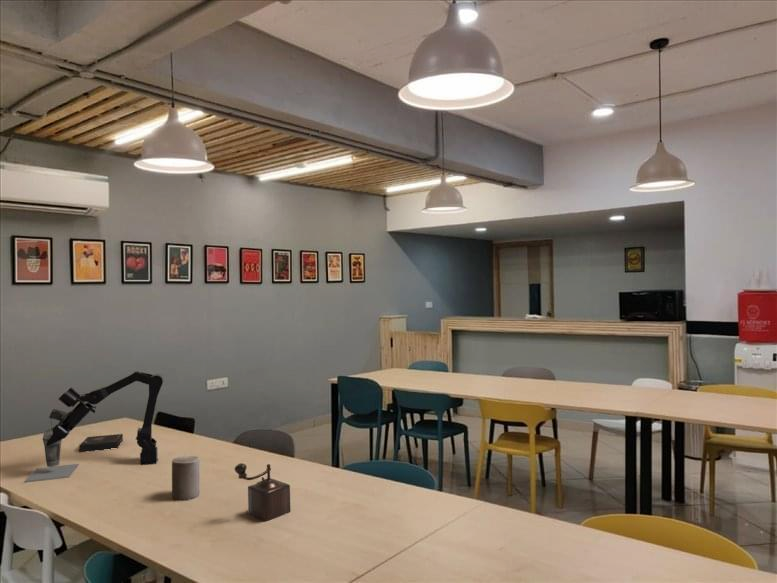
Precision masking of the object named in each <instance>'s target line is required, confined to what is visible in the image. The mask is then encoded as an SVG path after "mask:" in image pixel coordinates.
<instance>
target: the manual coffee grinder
mask: <svg viewBox="0 0 777 583" xmlns="http://www.w3.org/2000/svg"><path fill="white" fill-rule="evenodd" d="M271 466H272V465H271V464H269V463H268V464H266V470H265V471H263V472H261V473H259V474H257V475H255V476H251V477H247V476H248V474H247V472H246V470H247V464H245V463H238V464H236V466H235V467H234V472H235V473H236V474H238V479H240V480H246V481H252V480H257V479H258V478H261V481H258V482H256V483H255V484H252V485H251V484H250V485H248V486H247V502H248V504H247V505H248V508H247V509H248V510H247V511H248V512H247V514H248V515H250V516H251V517H253V518H255V519H257V520H260V521H263V522H268V521H271V520H275V519H277V518H279V517H282V516H284V515H286V514H288V513H291V485H290V484H288V483H286V482H282V481H280V480H276V479H275V478H271V471H272V468H271ZM266 474H267V476H266V478H265V477H263V476H265V475H266Z"/></svg>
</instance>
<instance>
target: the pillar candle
mask: <svg viewBox="0 0 777 583" xmlns="http://www.w3.org/2000/svg"><path fill="white" fill-rule="evenodd" d="M200 460H201V459H200V457H199V456H196V455H183V456H177V457H175V458H173V459H172V460H171V493H172V494H171V499H172V498H173V499H172V500H174V501H176V500H185V501H190V500H189V499H191V500H193V498H194V499H196V498H198V497H199V496H200V491H201V490H200V484H201V483H200V481H201V480H200V477H201V476H200ZM197 496H198V497H197ZM195 497H196V498H195Z"/></svg>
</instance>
